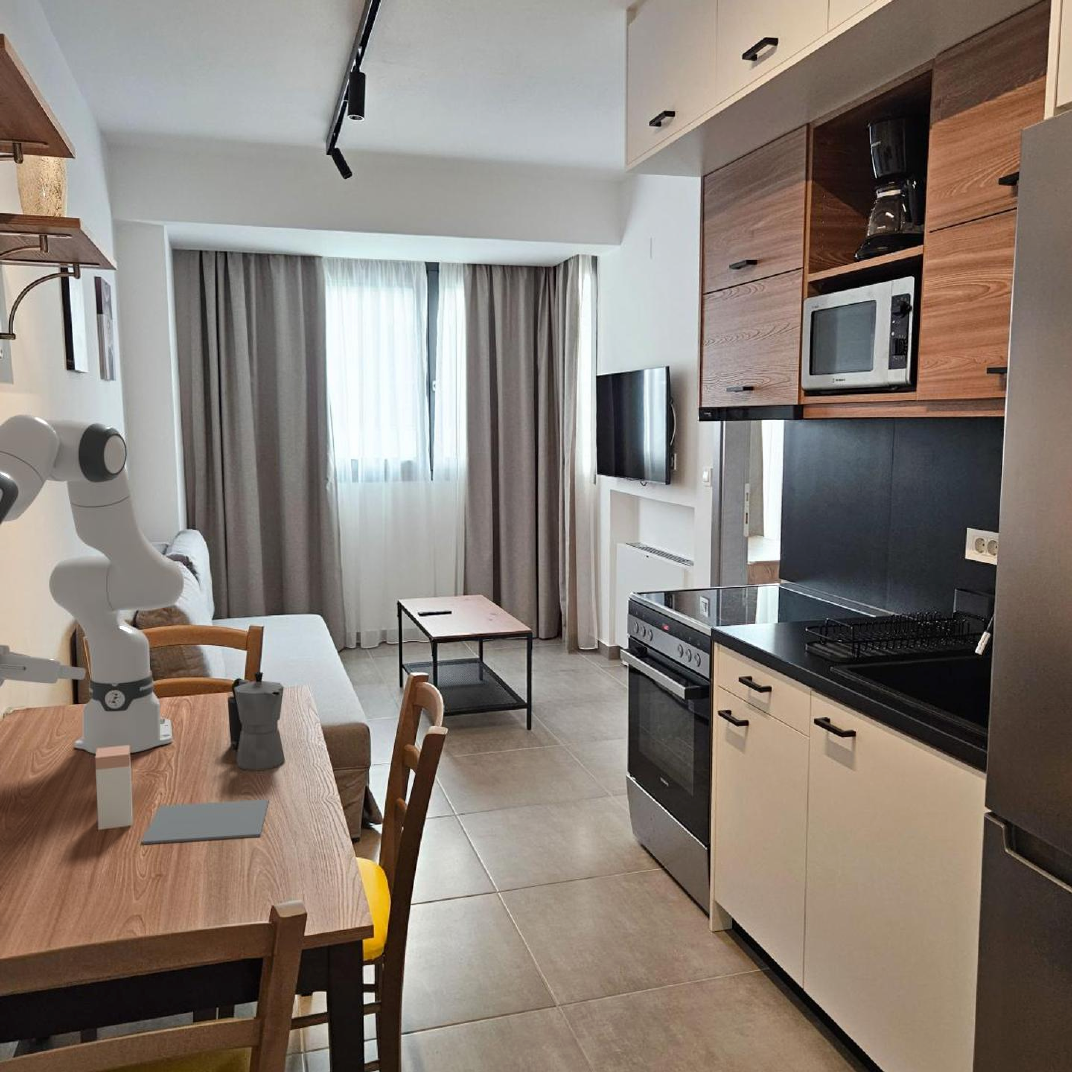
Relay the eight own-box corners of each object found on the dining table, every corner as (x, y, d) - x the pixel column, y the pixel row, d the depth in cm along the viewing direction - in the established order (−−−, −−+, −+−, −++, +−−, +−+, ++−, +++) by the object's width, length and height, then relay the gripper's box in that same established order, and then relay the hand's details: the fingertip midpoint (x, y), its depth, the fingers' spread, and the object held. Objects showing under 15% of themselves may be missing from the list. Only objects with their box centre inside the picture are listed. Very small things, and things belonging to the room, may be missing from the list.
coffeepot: (301, 764, 190) (299, 673, 188) (259, 776, 183) (257, 682, 181) (255, 747, 200) (253, 660, 198) (214, 758, 193) (211, 669, 191)
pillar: (100, 818, 163) (97, 748, 162) (132, 814, 165) (129, 745, 163) (98, 829, 158) (95, 757, 157) (131, 825, 160) (129, 754, 159)
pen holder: (235, 737, 206) (234, 691, 205) (280, 737, 207) (279, 691, 206) (223, 752, 197) (222, 703, 196) (270, 751, 197) (269, 703, 196)
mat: (160, 808, 167) (159, 805, 167) (268, 801, 171) (268, 799, 171) (141, 844, 153) (141, 841, 153) (260, 836, 156) (260, 833, 156)
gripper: (-4, 643, 141) (97, 654, 149) (-27, 642, 157) (65, 652, 165) (-13, 687, 139) (90, 696, 148) (-35, 681, 156) (58, 689, 164)
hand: (76, 672), depth 156 cm, fingers open, 8 cm apart
